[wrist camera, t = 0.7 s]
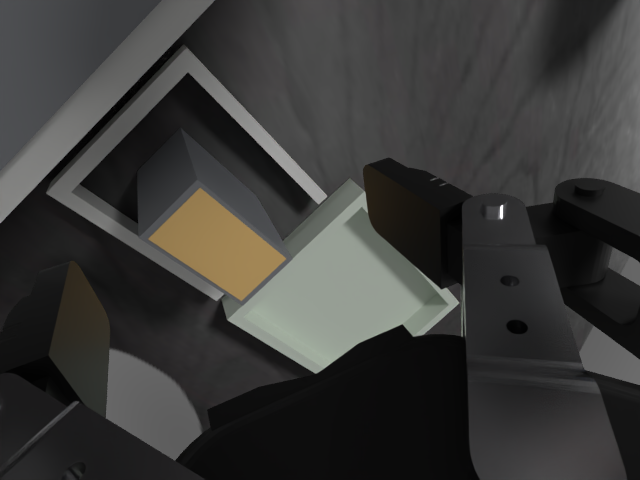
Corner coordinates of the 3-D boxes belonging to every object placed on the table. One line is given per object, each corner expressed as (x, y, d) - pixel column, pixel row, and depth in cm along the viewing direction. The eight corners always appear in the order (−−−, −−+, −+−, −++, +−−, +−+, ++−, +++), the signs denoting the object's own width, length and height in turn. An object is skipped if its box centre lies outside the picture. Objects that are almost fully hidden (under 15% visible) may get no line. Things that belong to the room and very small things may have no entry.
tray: (349, 177, 37) (364, 191, 35) (443, 287, 49) (459, 302, 47) (221, 299, 39) (227, 319, 36) (342, 376, 51) (353, 396, 48)
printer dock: (100, -174, 22) (81, -260, 14) (357, 150, 36) (417, 195, 28) (-168, 130, 24) (-313, 200, 16) (178, 320, 38) (189, 406, 30)
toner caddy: (180, 127, 30) (197, 179, 22) (256, 195, 35) (293, 259, 27) (137, 171, 31) (138, 238, 23) (217, 232, 35) (243, 306, 27)
